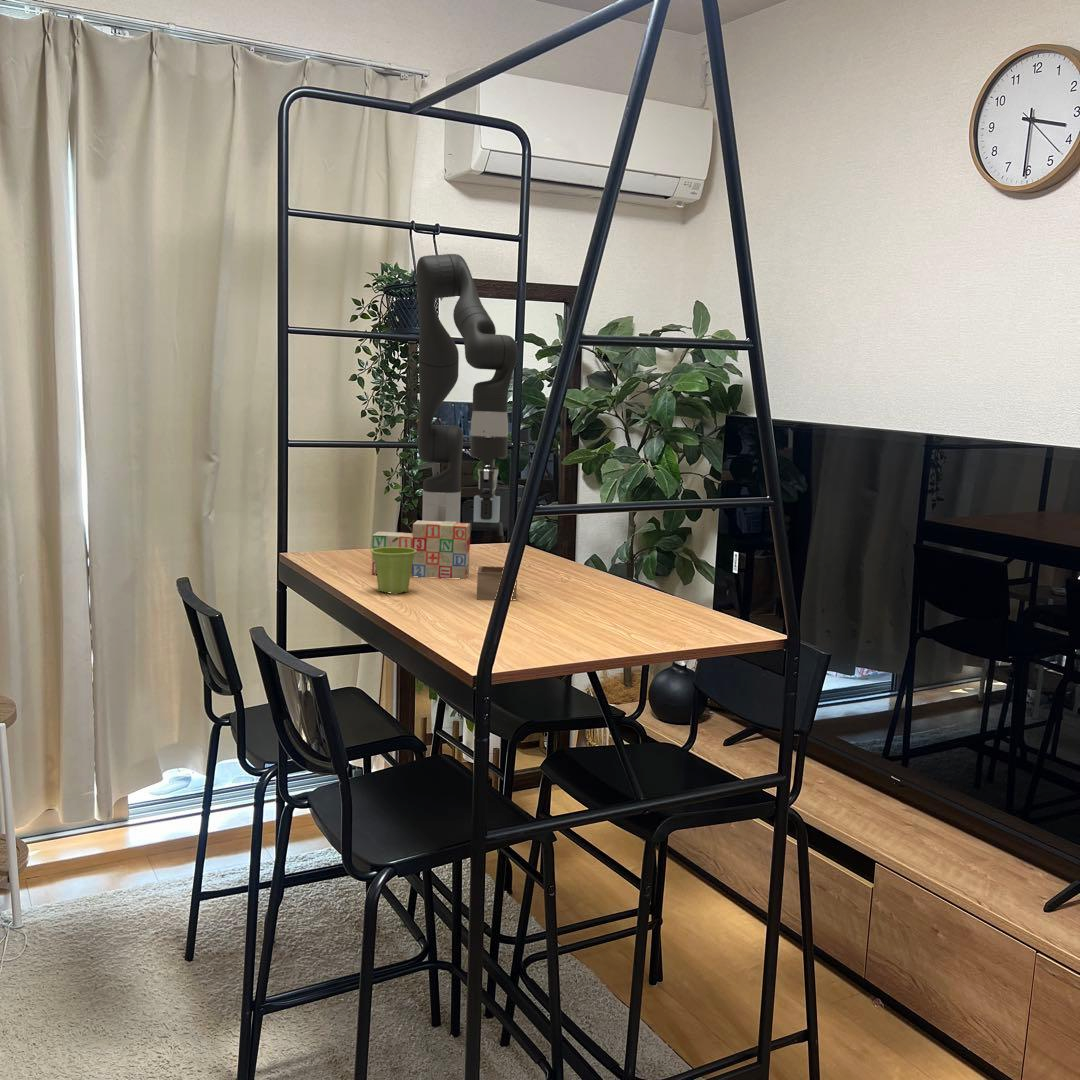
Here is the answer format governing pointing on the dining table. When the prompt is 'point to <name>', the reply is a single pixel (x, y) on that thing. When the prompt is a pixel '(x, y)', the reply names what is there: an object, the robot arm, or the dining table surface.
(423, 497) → the robot arm
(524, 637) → the dining table surface
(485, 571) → the walnut base
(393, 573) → the plant pot
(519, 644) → the dining table surface
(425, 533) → the stack of blocks
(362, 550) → the dining table surface
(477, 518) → the bluegrey cube
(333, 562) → the dining table surface
